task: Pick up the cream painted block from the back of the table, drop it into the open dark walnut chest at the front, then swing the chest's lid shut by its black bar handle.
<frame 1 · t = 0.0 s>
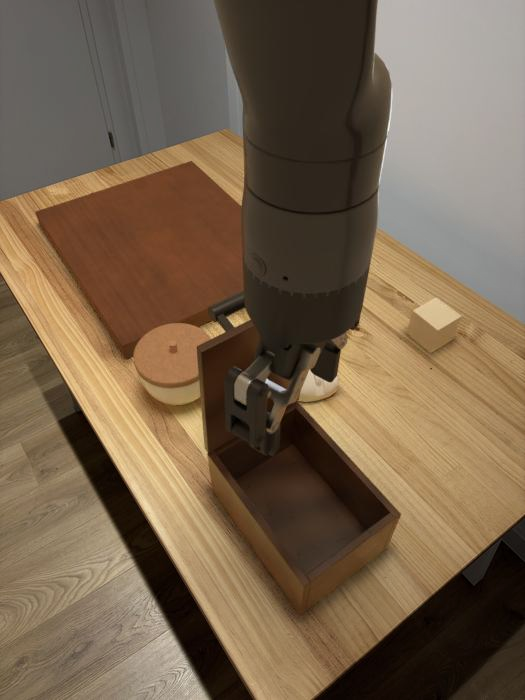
hand: (295, 409, 44), 26 cm above the table, tool pointing down, fingers open, 8 cm apart
computer mouse: (304, 368, 81), on the table
brown flat wooden slab: (165, 251, 99), on the table
chest: (296, 518, 65), on the table
lid: (243, 362, 57), point 19 cm above the table, hinge at 85.0°
block: (429, 336, 85), on the table
trinket box: (181, 388, 79), on the table
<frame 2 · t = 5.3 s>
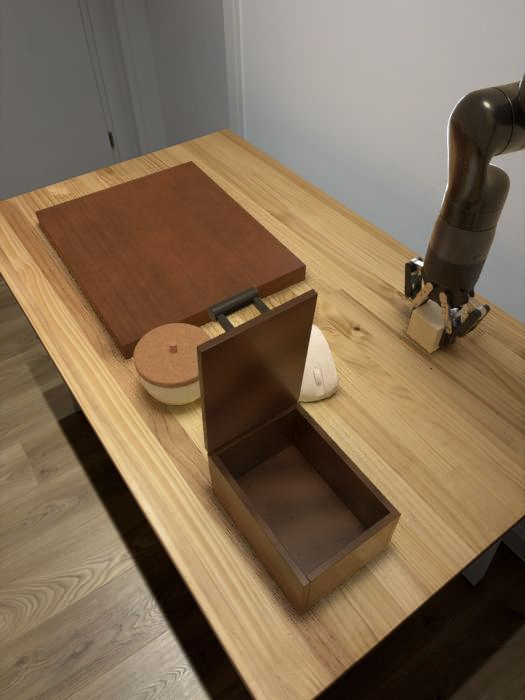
hand: (430, 333, 84), 1 cm above the table, tool pointing down, fingers closed on block, 5 cm apart
block: (429, 336, 85), on the table, touching gripper
everything else where it was.
when the fingers open (5 cm above the table, at t = 16.3 s): block drops 3 cm, resting on chest.
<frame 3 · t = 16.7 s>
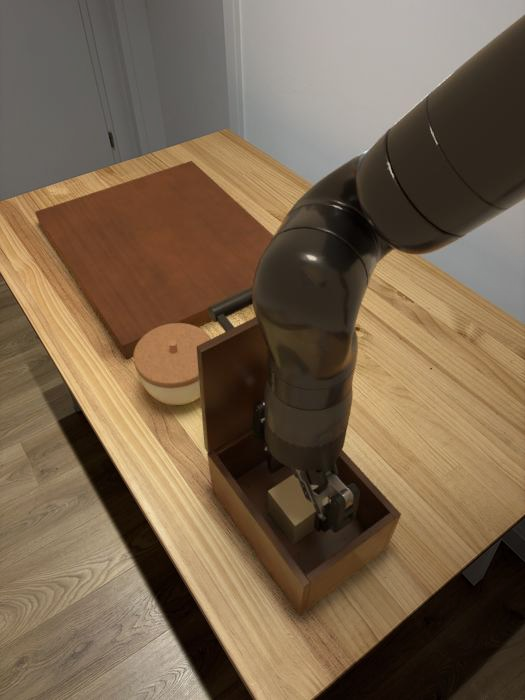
hand: (299, 495, 61), 6 cm above the table, tool pointing down, fingers open, 8 cm apart
block: (297, 515, 65), point 1 cm above the table, touching chest
everything else where it was.
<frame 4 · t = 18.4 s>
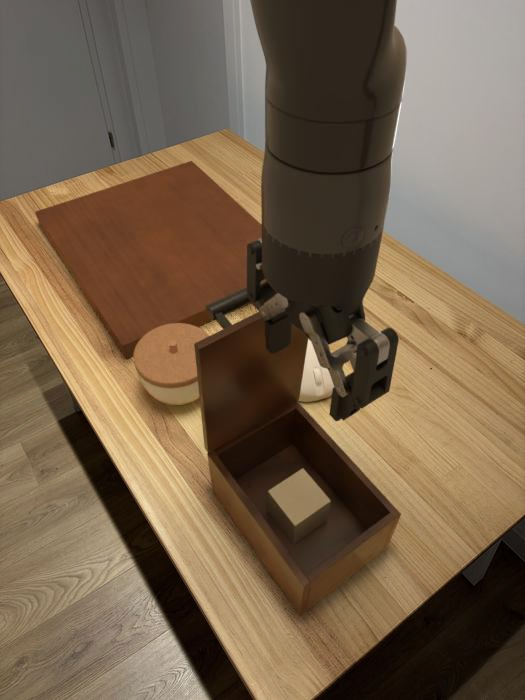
hand: (308, 378, 46), 26 cm above the table, tool pointing down, fingers open, 8 cm apart
lid: (242, 361, 57), point 19 cm above the table, hinge at 86.2°
everything else where it was.
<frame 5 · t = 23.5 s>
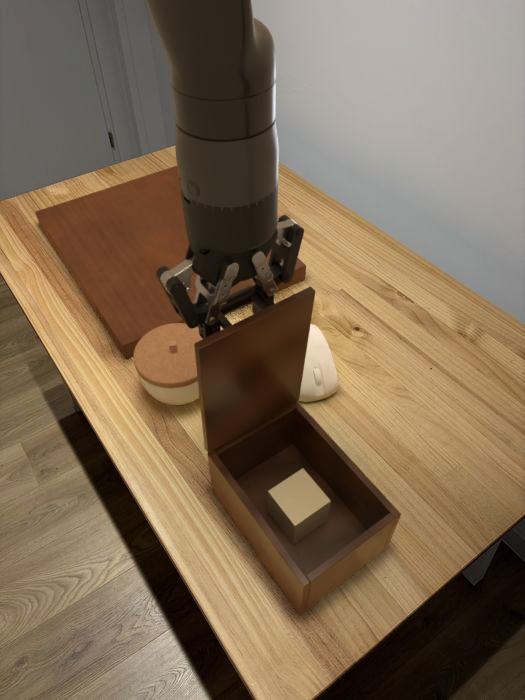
hand: (237, 329, 54), 23 cm above the table, tool pointing down, fingers closed on lid, 5 cm apart
lid: (242, 361, 57), point 19 cm above the table, hinge at 86.2°, touching gripper
everything else where it was.
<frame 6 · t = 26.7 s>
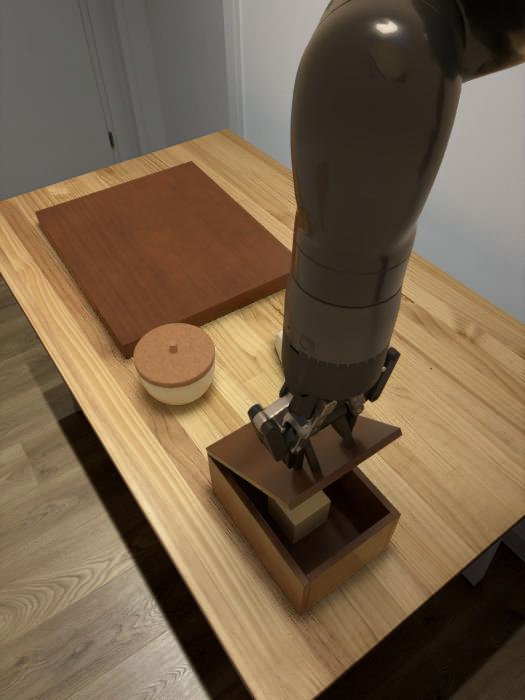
hand: (316, 445, 51), 18 cm above the table, tool pointing down, fingers closed on lid, 5 cm apart
lid: (286, 422, 55), point 17 cm above the table, hinge at 37.1°, touching gripper
everything else where it was.
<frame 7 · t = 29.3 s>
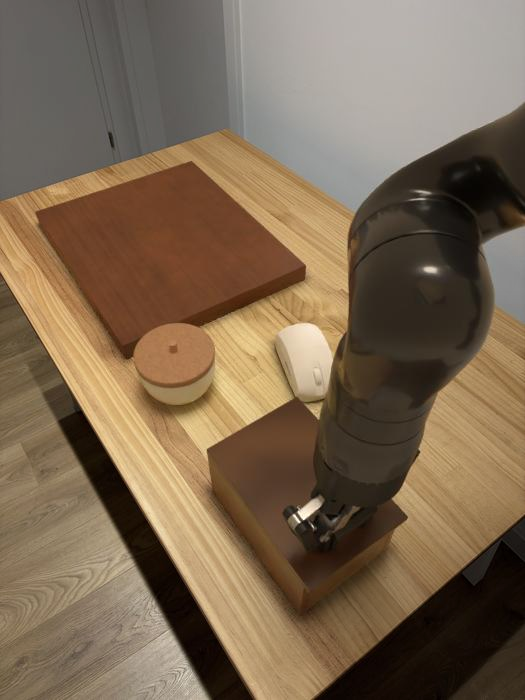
hand: (340, 527, 55), 10 cm above the table, tool pointing down, fingers closed on lid, 5 cm apart
lid: (303, 472, 57), point 12 cm above the table, hinge at -0.2°, touching chest, gripper
everything else where it was.
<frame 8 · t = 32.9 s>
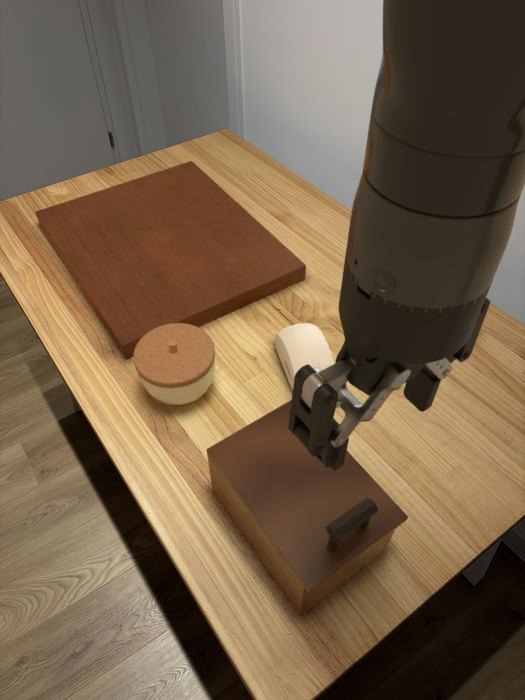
hand: (374, 429, 40), 28 cm above the table, tool pointing down, fingers open, 8 cm apart
lid: (303, 472, 57), point 12 cm above the table, hinge at -0.2°, touching chest
everything else where it was.
at the end: block inside the target area in the chest (0.0 cm from its centre), point 0.8 cm above the chest's base; lid at +0° (first picture: +85°) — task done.
